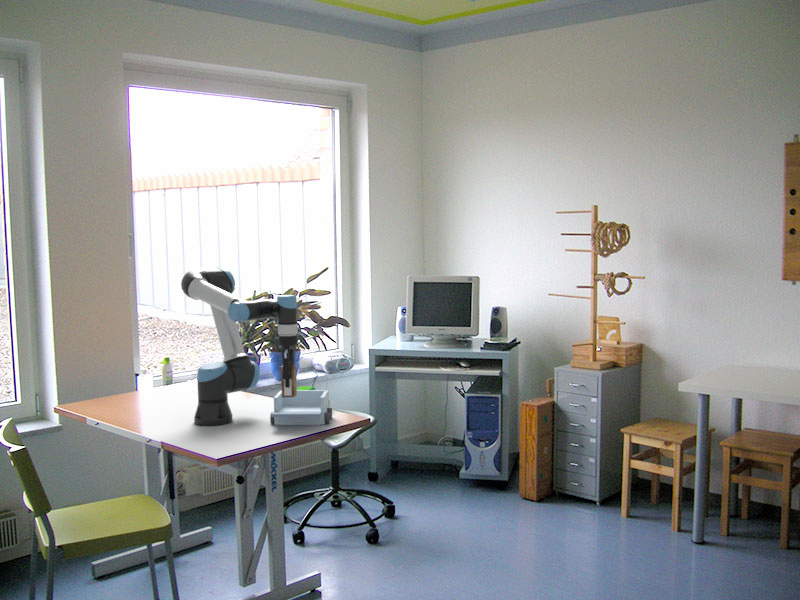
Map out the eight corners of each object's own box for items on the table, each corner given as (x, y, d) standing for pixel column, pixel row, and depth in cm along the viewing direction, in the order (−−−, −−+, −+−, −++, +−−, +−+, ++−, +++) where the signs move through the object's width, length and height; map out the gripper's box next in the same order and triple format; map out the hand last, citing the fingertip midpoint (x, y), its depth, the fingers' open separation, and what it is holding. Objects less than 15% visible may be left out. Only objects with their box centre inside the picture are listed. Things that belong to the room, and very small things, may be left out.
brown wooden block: (281, 397, 297) (280, 366, 296) (284, 394, 302) (283, 364, 301) (294, 397, 297) (293, 366, 296) (296, 394, 302) (295, 364, 301)
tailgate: (274, 415, 304) (270, 418, 296) (274, 411, 304) (270, 414, 296) (322, 415, 304) (319, 418, 296) (322, 411, 304) (319, 414, 296)
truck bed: (270, 424, 306) (269, 397, 305) (277, 416, 320) (276, 390, 319) (328, 424, 305) (328, 397, 304) (332, 416, 319) (332, 390, 319)
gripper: (293, 337, 289) (295, 398, 291) (301, 331, 307) (302, 389, 309) (273, 337, 289) (275, 398, 291) (282, 332, 307) (284, 389, 309)
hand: (289, 393), depth 300 cm, fingers closed on brown wooden block, 5 cm apart
